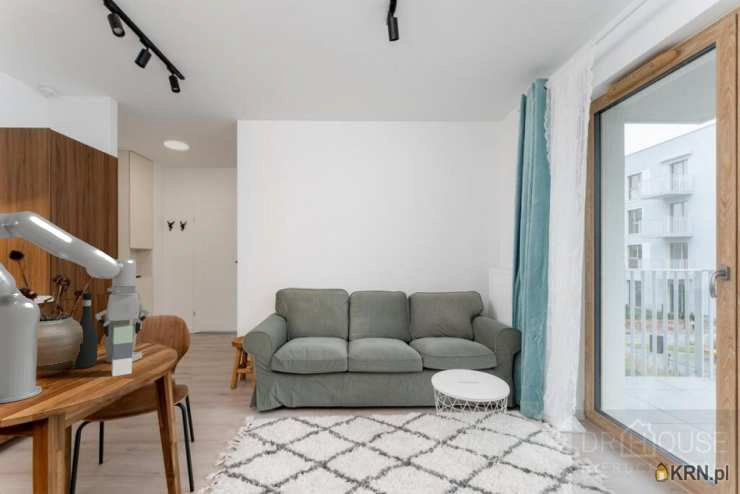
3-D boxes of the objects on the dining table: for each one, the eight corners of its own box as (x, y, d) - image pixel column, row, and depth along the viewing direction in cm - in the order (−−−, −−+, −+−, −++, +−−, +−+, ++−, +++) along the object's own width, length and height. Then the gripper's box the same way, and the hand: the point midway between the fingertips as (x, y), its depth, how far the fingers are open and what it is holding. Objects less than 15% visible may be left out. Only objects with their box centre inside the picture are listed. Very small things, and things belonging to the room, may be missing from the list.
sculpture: (148, 358, 162) (150, 290, 163) (134, 363, 154) (136, 292, 155) (117, 357, 163) (119, 289, 164) (101, 362, 155) (104, 291, 156)
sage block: (113, 344, 138) (114, 328, 138) (112, 341, 143) (112, 326, 143) (132, 342, 142) (132, 326, 142) (130, 339, 146) (130, 324, 147)
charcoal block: (113, 360, 138) (113, 344, 138) (111, 356, 142) (112, 341, 143) (132, 357, 142) (132, 342, 142) (130, 354, 146) (130, 339, 146)
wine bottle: (77, 364, 152) (80, 292, 152) (100, 363, 154) (102, 291, 155) (68, 370, 144) (70, 294, 145) (92, 368, 146) (94, 293, 147)
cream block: (112, 376, 138) (113, 360, 138) (111, 372, 142) (111, 356, 142) (131, 373, 141) (132, 357, 142) (129, 369, 146) (130, 354, 146)
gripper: (96, 292, 134) (94, 339, 134) (150, 290, 145) (149, 333, 145) (95, 290, 140) (93, 335, 140) (148, 289, 151) (146, 330, 150)
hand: (122, 334), depth 142 cm, fingers open, 9 cm apart
